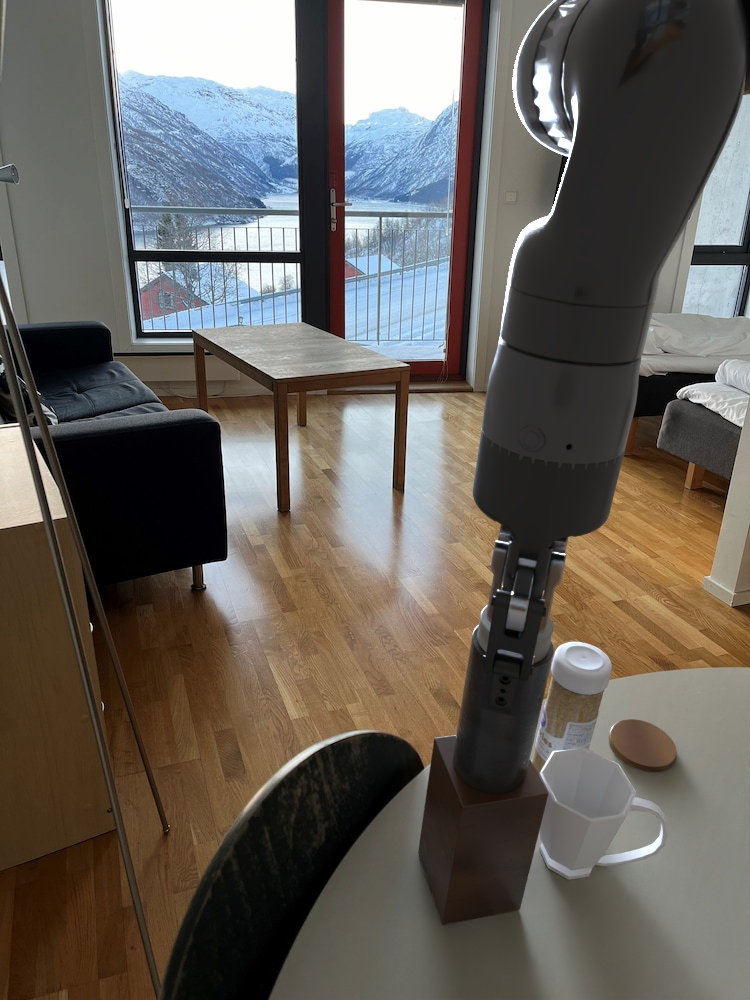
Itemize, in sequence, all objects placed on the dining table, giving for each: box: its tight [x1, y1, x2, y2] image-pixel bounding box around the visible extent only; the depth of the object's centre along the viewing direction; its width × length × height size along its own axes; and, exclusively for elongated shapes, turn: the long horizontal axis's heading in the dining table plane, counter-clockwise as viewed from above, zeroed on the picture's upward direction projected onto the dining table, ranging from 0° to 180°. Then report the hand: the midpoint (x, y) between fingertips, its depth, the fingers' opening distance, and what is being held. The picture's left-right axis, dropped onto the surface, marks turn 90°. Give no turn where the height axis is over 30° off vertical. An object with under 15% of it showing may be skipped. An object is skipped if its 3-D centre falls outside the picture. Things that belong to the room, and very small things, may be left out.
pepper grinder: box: [453, 604, 555, 794], centre depth 47 cm, size 5×5×12 cm
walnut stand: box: [417, 734, 549, 926], centre depth 53 cm, size 6×6×12 cm
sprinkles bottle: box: [530, 641, 613, 775], centre depth 62 cm, size 5×5×13 cm
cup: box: [538, 748, 668, 881], centre depth 56 cm, size 7×10×8 cm
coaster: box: [608, 718, 678, 772], centre depth 69 cm, size 6×6×1 cm
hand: (505, 678), depth 47 cm, fingers closed on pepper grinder, 5 cm apart
